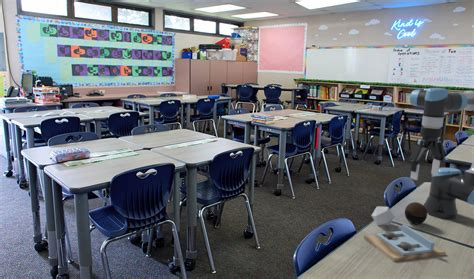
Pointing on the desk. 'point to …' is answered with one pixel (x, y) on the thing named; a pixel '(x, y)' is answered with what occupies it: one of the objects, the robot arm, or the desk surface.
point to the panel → (409, 241)
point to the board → (405, 246)
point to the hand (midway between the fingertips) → (424, 176)
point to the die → (382, 216)
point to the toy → (415, 213)
